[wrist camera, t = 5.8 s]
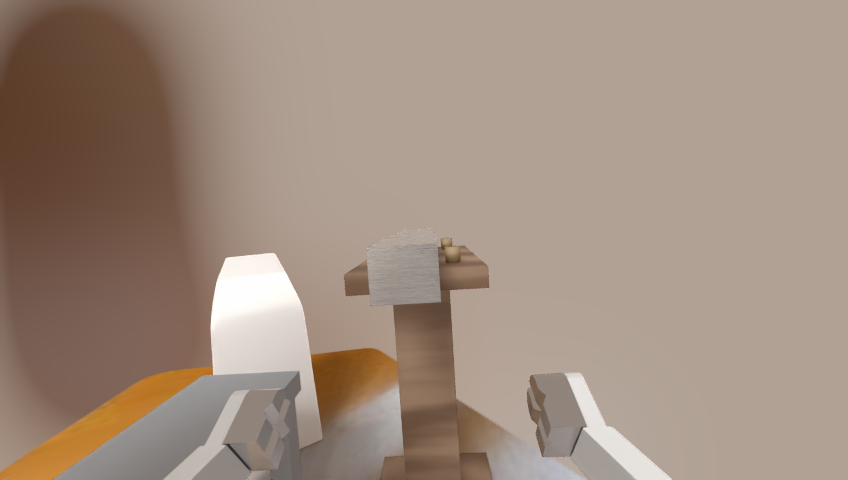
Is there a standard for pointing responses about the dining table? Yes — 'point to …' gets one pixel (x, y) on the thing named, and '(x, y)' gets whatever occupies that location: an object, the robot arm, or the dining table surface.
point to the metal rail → (404, 268)
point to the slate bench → (185, 431)
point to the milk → (264, 331)
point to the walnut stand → (430, 374)
